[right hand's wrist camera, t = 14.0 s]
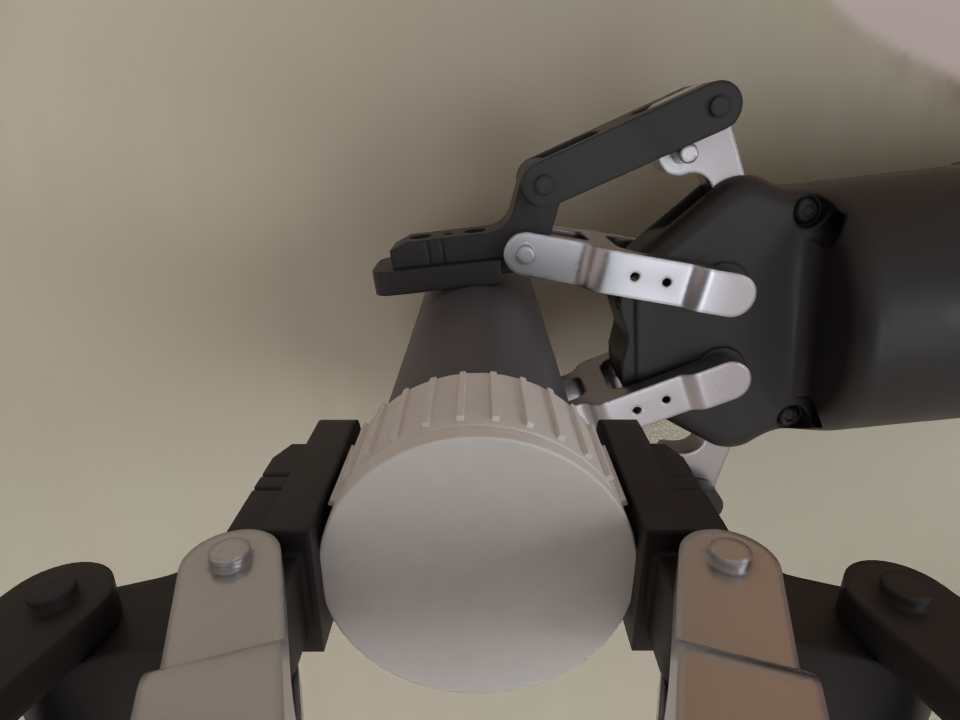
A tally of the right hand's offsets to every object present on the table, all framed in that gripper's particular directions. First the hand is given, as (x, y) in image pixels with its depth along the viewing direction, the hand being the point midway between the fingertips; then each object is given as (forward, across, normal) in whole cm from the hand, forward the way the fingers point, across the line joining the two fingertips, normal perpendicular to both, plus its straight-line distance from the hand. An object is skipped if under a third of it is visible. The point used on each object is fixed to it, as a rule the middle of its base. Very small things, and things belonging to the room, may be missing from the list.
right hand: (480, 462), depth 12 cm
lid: (-3, 0, 0) cm, 3 cm away
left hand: (+7, -3, 0) cm, 8 cm away
